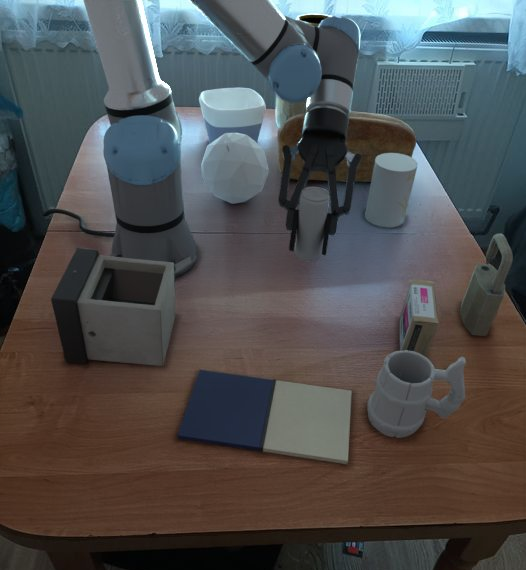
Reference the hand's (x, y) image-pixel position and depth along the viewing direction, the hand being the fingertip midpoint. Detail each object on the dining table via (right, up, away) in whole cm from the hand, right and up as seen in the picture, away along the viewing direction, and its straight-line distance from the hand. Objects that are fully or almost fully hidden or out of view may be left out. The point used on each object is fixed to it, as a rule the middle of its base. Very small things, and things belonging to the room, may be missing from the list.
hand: (307, 251), depth 91 cm
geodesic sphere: (-14, +16, +25) cm, 33 cm away
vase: (+4, +39, +50) cm, 63 cm away
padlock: (+27, -12, -1) cm, 30 cm away
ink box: (+16, -15, -6) cm, 23 cm away
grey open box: (-29, -15, -8) cm, 33 cm away
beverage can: (0, 0, +5) cm, 5 cm away
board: (-7, -26, -18) cm, 32 cm away
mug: (+12, -26, -17) cm, 34 cm away
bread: (+11, +25, +35) cm, 44 cm away
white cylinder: (+18, +11, +22) cm, 30 cm away
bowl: (-15, +35, +45) cm, 59 cm away
